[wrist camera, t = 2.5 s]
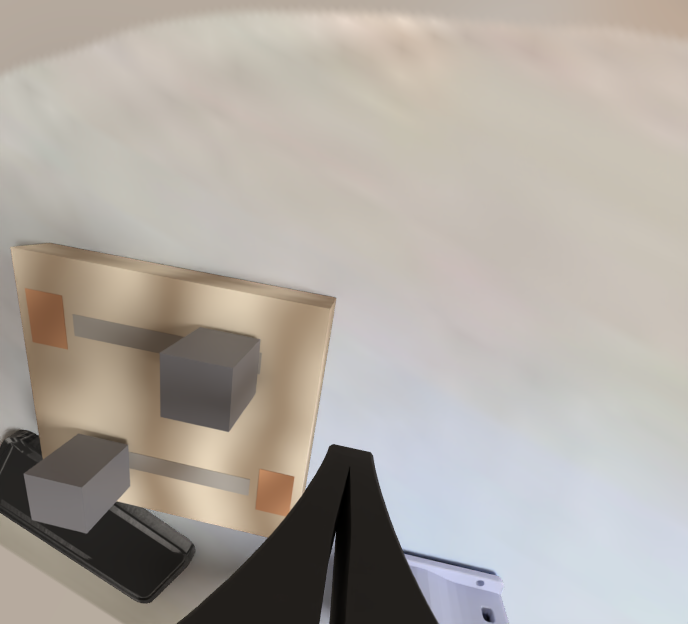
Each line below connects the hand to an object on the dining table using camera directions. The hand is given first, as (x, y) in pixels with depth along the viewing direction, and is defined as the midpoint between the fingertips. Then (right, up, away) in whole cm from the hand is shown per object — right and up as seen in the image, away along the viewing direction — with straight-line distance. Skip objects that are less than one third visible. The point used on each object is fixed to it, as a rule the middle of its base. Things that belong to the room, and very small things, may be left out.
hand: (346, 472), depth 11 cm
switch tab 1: (-14, -3, +8) cm, 17 cm away
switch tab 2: (-6, +3, +6) cm, 8 cm away
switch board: (-9, 0, +9) cm, 13 cm away
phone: (-19, -10, +14) cm, 25 cm away
